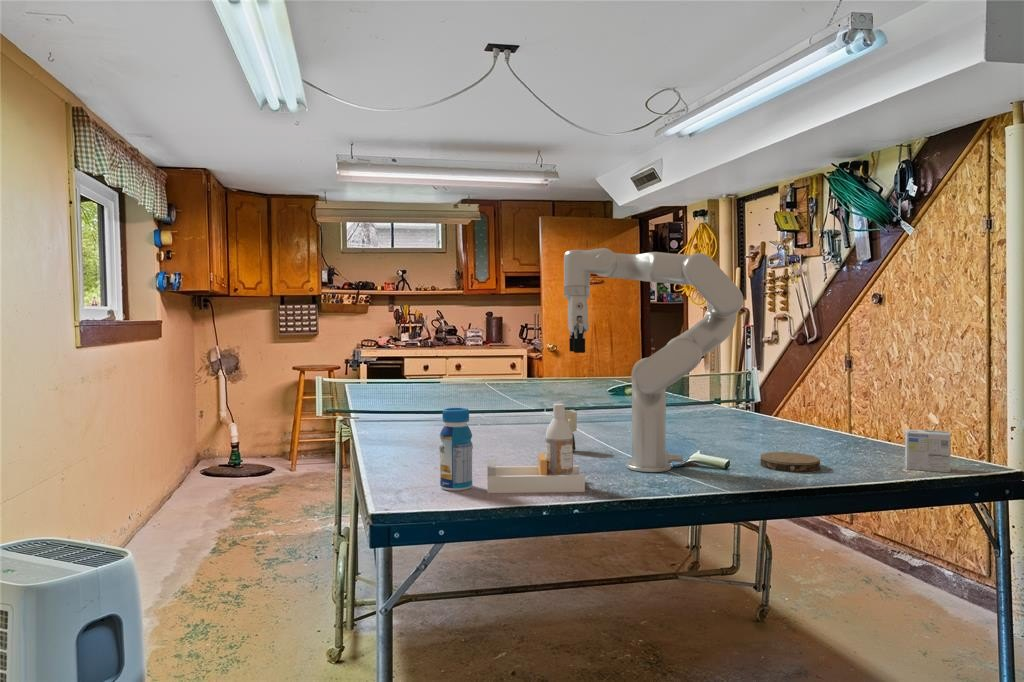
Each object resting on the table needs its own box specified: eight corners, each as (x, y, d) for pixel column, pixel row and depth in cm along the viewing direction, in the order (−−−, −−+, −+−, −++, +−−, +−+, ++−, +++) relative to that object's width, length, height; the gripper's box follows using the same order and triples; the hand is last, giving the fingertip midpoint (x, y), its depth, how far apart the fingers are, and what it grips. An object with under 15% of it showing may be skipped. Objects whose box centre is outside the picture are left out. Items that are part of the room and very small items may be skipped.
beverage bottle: (468, 492, 163) (468, 411, 163) (435, 490, 165) (434, 411, 164) (476, 484, 172) (475, 407, 171) (444, 482, 173) (444, 406, 173)
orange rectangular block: (544, 477, 173) (544, 453, 173) (546, 485, 165) (546, 460, 164) (538, 477, 173) (538, 453, 173) (540, 485, 165) (540, 460, 164)
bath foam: (556, 486, 164) (556, 406, 164) (540, 481, 170) (540, 403, 170) (578, 483, 168) (578, 404, 168) (561, 477, 174) (561, 402, 173)
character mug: (550, 448, 220) (550, 409, 219) (571, 447, 221) (571, 409, 221) (559, 455, 209) (559, 414, 209) (581, 454, 211) (581, 413, 210)
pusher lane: (578, 480, 175) (578, 457, 175) (584, 491, 163) (584, 467, 163) (487, 481, 175) (487, 458, 174) (487, 493, 163) (487, 468, 162)
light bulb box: (947, 468, 188) (947, 430, 187) (951, 473, 182) (951, 434, 181) (903, 465, 192) (904, 428, 192) (906, 469, 186) (906, 431, 186)
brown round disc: (756, 460, 200) (756, 451, 200) (812, 463, 197) (812, 453, 197) (765, 472, 185) (765, 461, 185) (826, 474, 182) (826, 464, 181)
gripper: (594, 291, 183) (594, 353, 184) (585, 294, 200) (585, 350, 201) (567, 291, 183) (567, 353, 183) (560, 294, 200) (560, 351, 201)
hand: (577, 352), depth 192 cm, fingers open, 9 cm apart
